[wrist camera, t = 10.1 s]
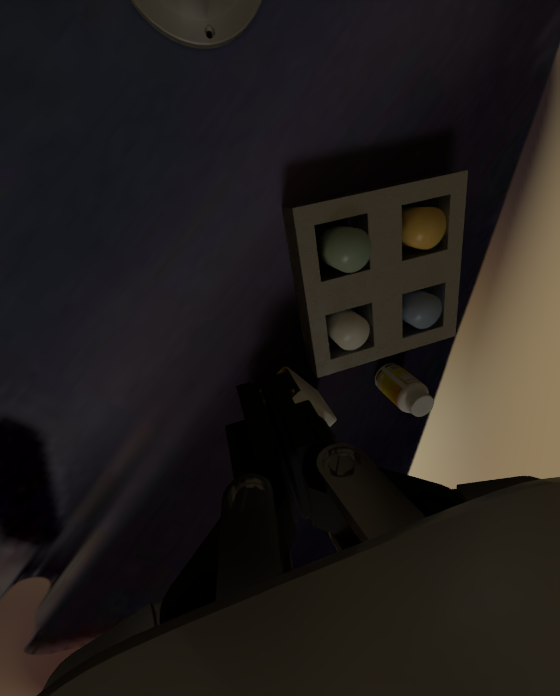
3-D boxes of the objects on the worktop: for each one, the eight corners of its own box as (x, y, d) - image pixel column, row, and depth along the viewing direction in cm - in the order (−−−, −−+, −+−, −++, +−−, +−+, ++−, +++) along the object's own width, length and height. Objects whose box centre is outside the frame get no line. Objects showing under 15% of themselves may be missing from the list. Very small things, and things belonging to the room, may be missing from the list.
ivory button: (321, 311, 41) (334, 321, 37) (353, 302, 42) (368, 311, 38) (325, 341, 43) (337, 354, 39) (355, 332, 44) (370, 344, 40)
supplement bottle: (380, 393, 50) (413, 427, 43) (368, 373, 48) (402, 405, 40) (404, 376, 50) (442, 407, 42) (394, 356, 48) (432, 384, 40)
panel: (281, 207, 35) (292, 208, 32) (442, 172, 38) (468, 170, 35) (307, 363, 44) (317, 377, 41) (435, 325, 47) (455, 335, 44)
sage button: (315, 230, 35) (329, 233, 32) (352, 221, 36) (370, 223, 32) (320, 269, 37) (334, 277, 34) (355, 261, 38) (372, 267, 34)
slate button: (392, 291, 42) (410, 300, 39) (421, 283, 43) (442, 291, 40) (392, 322, 44) (410, 332, 41) (421, 314, 45) (440, 323, 42)
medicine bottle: (284, 363, 43) (316, 416, 33) (318, 390, 47) (356, 446, 36) (249, 400, 44) (268, 463, 34) (284, 424, 48) (312, 488, 37)
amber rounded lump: (390, 210, 38) (411, 211, 34) (423, 203, 39) (447, 203, 35) (391, 248, 40) (411, 253, 36) (422, 240, 41) (445, 244, 37)
